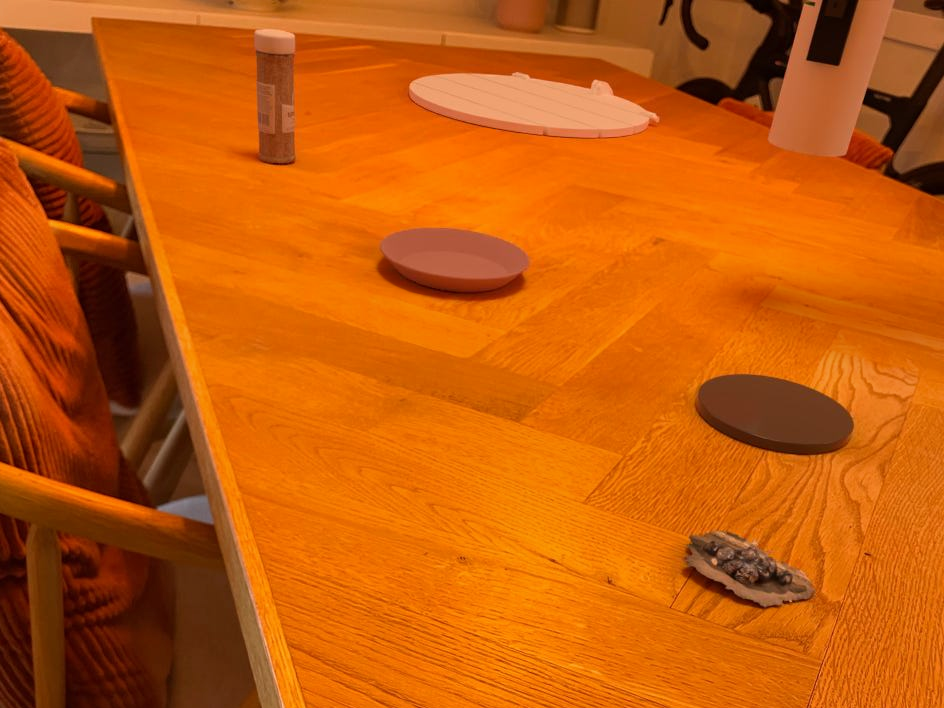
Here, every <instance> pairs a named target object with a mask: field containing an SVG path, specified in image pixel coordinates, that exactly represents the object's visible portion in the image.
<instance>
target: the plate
mask: <svg viewBox="0 0 944 708" xmlns="http://www.w3.org/2000/svg"><path fill="white" fill-rule="evenodd" d="M379 249H380V252H381V254H382V255H383V256H384V257H385V258H386V259H387V260H388V262H389V263H390V264H391V265H392V266H393V267H394V268H395V269H396V271H397V272H398V273H399V274H400V275H402V276H403V277H404V278H405V279H407V278H408V279H407V280H409V279H410V280H409V281H411V280H412V281H411V282H413V281H414V282H413V283H415V282H417V283H416V284H418V283H420V284H422V285H421V286H423V285H425V286H424V287H427V286H429V287H428V288H430V287H433V288H432V289H434V288H436V289H435V290H439V289H440V291H445V290H447V291H446V292H453V291H455V292H454V293H484V292H491V291H494V290H497V289H500V288H502V287H504V286H506V285H507V284H509V283H510V282H512V281H513V280H514V279H516V278H517V277H519V276H520V275H522V274H523V273H524V272H526V270H528V268H529V267H530V264H531V259H530V256H529V255H528V254H527V252H525V250H523V248H521V247H519V246H517V245H516V244H514V243H513V242H510V241H508V240H505V239H503V238H499V237H498V236H494V235H490V234H486V233H483V232H478V231H473V230H468V229H467V230H466V229H460V228H449V227H417V228H416V227H415V228H408V229H403V230H399V231H396V232H393V233H390V234H388V235H387V236H385V237H384V238H383V239H382V240H381V241H380V243H379ZM420 284H419V285H420Z"/></svg>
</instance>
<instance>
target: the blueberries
mask: <svg viewBox="0 0 944 708" xmlns="http://www.w3.org/2000/svg"><path fill="white" fill-rule="evenodd" d="M688 539H690V542H689V543H686V547H687V548H686V549H687V550H690V553H691V555H687V556H685V558H682V561H684V562H687V563H685V565H686V566H687V567H688V568H689V567H694V568H695V569H696V571H697V572H699V573H700V574H701V575H702V576H704V577H706V578H707V579H710V580H713V581H715V582H719V583H722V584H723V585H724V586H725V587H724V588H725V589H726V590H732V591H733V593H734V595H736V596H737V597H740V598H742V600H745V599H746V600H751V601H752V602H754V603H758V604H759V606H761V607H763V608H766V607H769V608H770V607H771V606H781V605H784V602H789V603H793V601H800V600H807V599H810V598H812V597H814V596H815V591H817V589H815V588H813V587H812V586H813V581H812V580H810V579H809V578H808V577H807V574H805V573H804V572H803V570H801V569H799V570H798V569H796V567H795V566H794V567H792V566H789V565H788V564H787V563H786V562H785V561H781V562H779V561H776V559H775V558H773V557H772V556H768V555H769V554H772V553H775V552H774V550H771V551H770V550H766V551H764V550H765V549H763V548H762V549H761V548H760V547H758V546H759V541H758V540H757V539H754V540H751V542H750V541H749V540H747V538H743V537H741V536H739V535H738V534H736V533H732V532H730V531H729V530H726V531H723V530H714V531H710V532H705V533H704V534H702V533H699V535H698V534H691V535H690V534H689V535H688ZM783 601H784V602H783Z"/></svg>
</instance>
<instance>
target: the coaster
mask: <svg viewBox="0 0 944 708" xmlns="http://www.w3.org/2000/svg"><path fill="white" fill-rule="evenodd" d="M695 407H696V410H697V412H698V413H699V415H700V416H701V418H703V419H704V421H706V422H707V423H708V424H709V425H710V426H712V427H713V428H714V429H716V430H718V431H719V432H721V433H723V434H725V435H727V436H729V437H730V438H733V439H735V440H737V441H740V442H743V443H745V444H749V445H751V446H755V447H758V448H761V449H766V450H771V451H774V452H781V453H787V454H800V455H811V454H812V455H816V454H825V453H830V452H833V451H836V450H839V449H841V448H843V447H844V446H845V445H847V443H848V442H849V441H850V440H851V437H852V434H853V431H854V428H855V422H854V418H853V417H852V415H851V413H850V412H849V411H848V410H847V409H846V407H844V406H843V405H842V404H841V403H839V402H838V401H836V400H835V399H833V398H832V397H830V396H828V395H827V394H825V393H823V392H821V391H819V390H817V389H814V388H811V387H809V386H807V385H804V384H801V383H798V382H795V381H791V380H787V379H785V378H780V377H774V376H769V375H761V374H751V373H734V374H732V373H731V374H725V375H720V376H719V375H718V376H715V377H713V378H710V379H708V380H706V381H705V382H703V383H702V384H701V385H700V386H699V388H698V390H697V393H696V398H695Z"/></svg>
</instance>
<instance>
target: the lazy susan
mask: <svg viewBox="0 0 944 708" xmlns="http://www.w3.org/2000/svg"><path fill="white" fill-rule="evenodd" d="M408 90H409V91H408V96H409V98H410V99H411V100H412V101H413V102H414V103H415V104H417V105H418V106H420V107H422V108H424V109H425V110H429V111H430V112H433V113H436V114H439V115H441V116H444V117H447V118H450V119H453V120H456V121H461V122H465V123H469V124H474V125H478V126H481V127H482V126H483V127H487V128H492V129H498V130H502V131H503V130H504V131H510V132H516V133H522V134H529V135H539V136H543V135H544V136H548V137H560V138H577V139H578V138H584V139H589V138H590V139H598V138H601V139H604V138H618V137H627V136H632V135H636V134H639V133H641V132H644V131H645V130H647V128H648V126H649V123H650V121H651V122H654V123H659V121H660V119H661V118H660V116H659V115H657V113H656V112H652V111H649V110H646V109H645V108H644V107H642V106H641V105H638V103H635V102H632V101H630V100H628V99H625V98H622V97H619V96H617V95H614V92H613V89H612V87H611V86H610V84H609V83H608V82H607V81H603V80H599V79H594V80H593V81H592V83H591V86H590V88H588V87H583V86H578V85H574V84H569V83H564V82H558V81H552V80H547V79H539V78H532V77H531V76H530V75H529V74H526V73H522V72H520V71H519V72H518V71H516V72H514V73H511V75H505V74H489V73H488V74H487V73H442V74H441V73H440V74H433V75H426V76H422V77H419V78H416V79H414V80H412V81H411V82H410V84H409V89H408Z"/></svg>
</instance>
